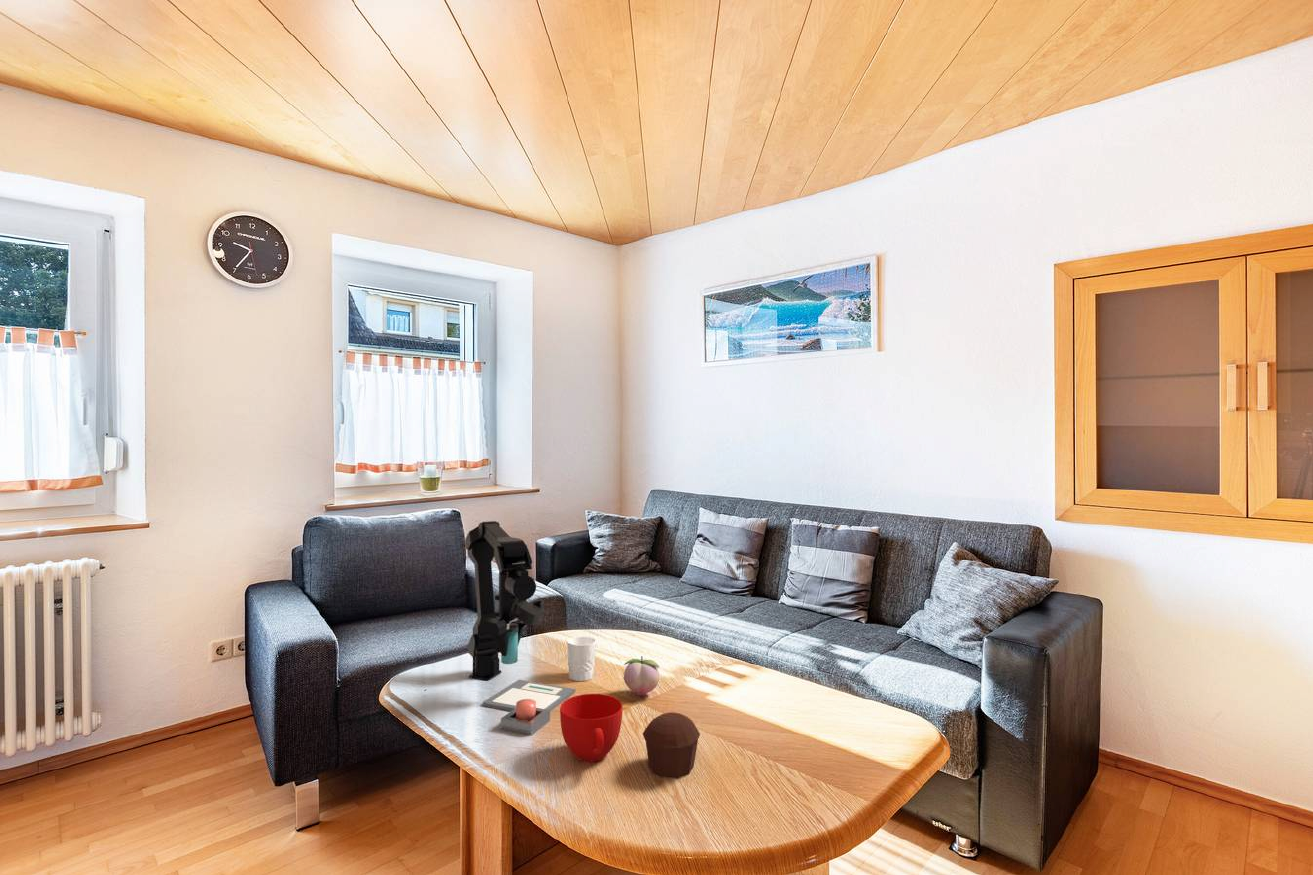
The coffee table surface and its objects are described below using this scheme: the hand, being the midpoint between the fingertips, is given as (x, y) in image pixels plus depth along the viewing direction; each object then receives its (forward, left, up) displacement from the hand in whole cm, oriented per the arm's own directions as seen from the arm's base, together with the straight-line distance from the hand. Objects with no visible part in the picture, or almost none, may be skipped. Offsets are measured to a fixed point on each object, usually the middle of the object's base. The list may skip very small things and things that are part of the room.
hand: (509, 653), depth 158 cm
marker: (0, 0, -2) cm, 2 cm away
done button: (+11, -10, -10) cm, 18 cm away
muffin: (+48, -15, -12) cm, 52 cm away
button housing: (+11, -10, -12) cm, 19 cm away
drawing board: (+4, +3, -12) cm, 13 cm away
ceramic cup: (+32, -18, -12) cm, 39 cm away
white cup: (+9, +21, -12) cm, 26 cm away
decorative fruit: (+29, +16, -12) cm, 35 cm away
